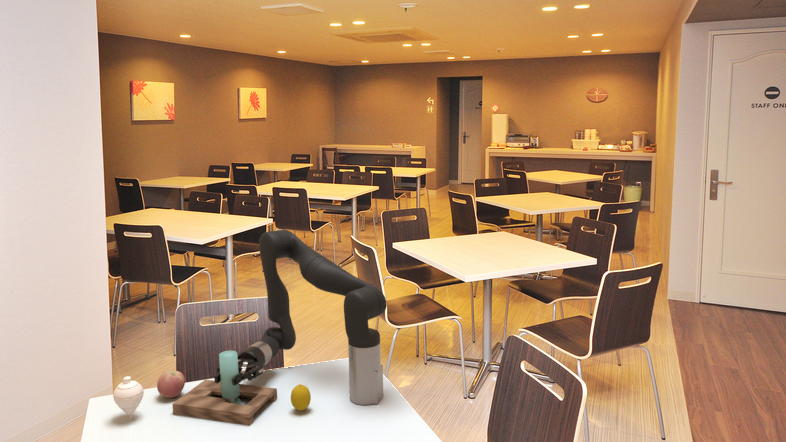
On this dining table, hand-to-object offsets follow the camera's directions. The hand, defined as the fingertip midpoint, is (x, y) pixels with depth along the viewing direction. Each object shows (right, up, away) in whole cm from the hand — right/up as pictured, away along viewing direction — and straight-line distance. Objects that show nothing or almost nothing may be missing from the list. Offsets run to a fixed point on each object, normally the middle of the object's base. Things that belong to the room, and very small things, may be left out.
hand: (224, 381), depth 166 cm
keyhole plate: (-1, -8, +4) cm, 9 cm away
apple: (-19, -8, +11) cm, 23 cm away
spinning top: (-25, -10, -2) cm, 27 cm away
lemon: (+21, -9, +1) cm, 23 cm away
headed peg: (+1, -8, +4) cm, 9 cm away
